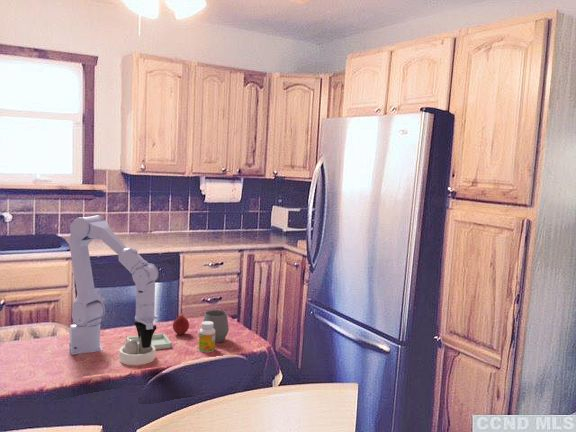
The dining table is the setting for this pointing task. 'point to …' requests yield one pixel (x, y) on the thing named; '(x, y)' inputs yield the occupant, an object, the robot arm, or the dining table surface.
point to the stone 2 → (143, 350)
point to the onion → (180, 325)
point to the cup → (218, 323)
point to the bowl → (136, 356)
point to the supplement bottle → (207, 337)
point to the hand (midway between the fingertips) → (144, 344)
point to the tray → (156, 341)
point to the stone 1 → (131, 346)
